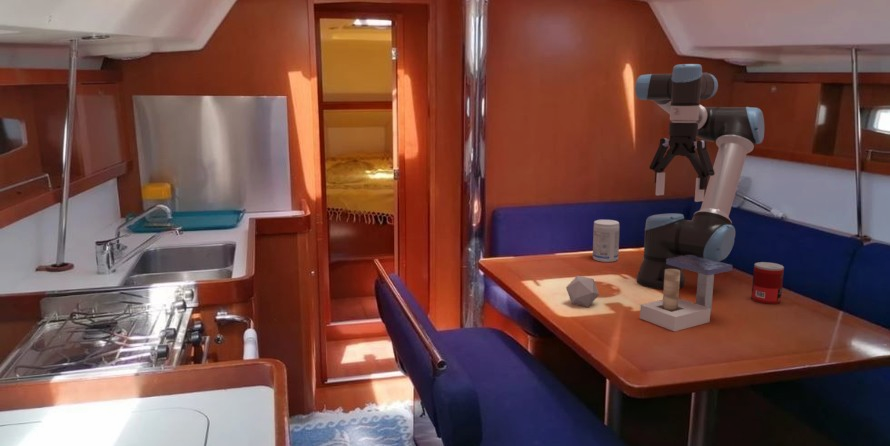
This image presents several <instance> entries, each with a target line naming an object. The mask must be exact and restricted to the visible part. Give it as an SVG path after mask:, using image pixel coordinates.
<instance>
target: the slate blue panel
mask: <svg viewBox="0 0 890 446" xmlns="http://www.w3.org/2000/svg"><path fill="white" fill-rule="evenodd" d="M666 264H668V265H671V266H675V267H679V268H682V270H687V271H690V272H693V273H694V272H695V273H697V281H696V282H697V283H696V296H695V297H696V298H695V303H696V304H699V305H702V306H705V307H708V308H711V309H710V315H711V314H712V307H713V294H714V293H713V291H714V284H715V283H714V282H715V281H714V280H715V275H718V274H722V273H726V272H731V271H733V265H732V264H730V263H725V262H722V261H714V260H710V259H706V258H702V257H698V256H694V255H685V256H680V257H674V258H669V259H666Z"/></svg>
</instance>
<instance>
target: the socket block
mask: <svg viewBox="0 0 890 446" xmlns="http://www.w3.org/2000/svg"><path fill="white" fill-rule="evenodd" d="M662 306H663V299H659V300H654V301H651V302H647V303H645V302H644V303H643V304H640V306H639V319H640V320H644V321H646V322H649V323H651V324H654V325H655V326H659V327H662V328H664V329H666V330H669V331H672V332H677V331H681V330H685V329H689V328H693V327H697V326H702V325H704V324H709V323H710V322H711V321H710V318H711V314H710V309H711V310H712V308H708V307H705V306H702V305H699V304H696V302H692V301H690V300H686V299H683V298H681V297H679V299H678V310H677V311H673V312H670V311H667V310H664V309H662Z"/></svg>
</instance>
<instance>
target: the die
mask: <svg viewBox="0 0 890 446" xmlns="http://www.w3.org/2000/svg"><path fill="white" fill-rule="evenodd" d="M565 289H566V292H567V293H568V297H569V299H570V302H571V304H572V305H578V306H581V307H590V305H591V304H592V303H593V302H594V301H595V300H596V299H597V298H598V296H599V295H600V293H599V290H598V288H597V284H596V282H595V279H594V278H593V277H585V276H580V275H576V276H575V277H574V278H573V279H572V281H570V283H569V284H568V285H567V286H566V287H565Z"/></svg>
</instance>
